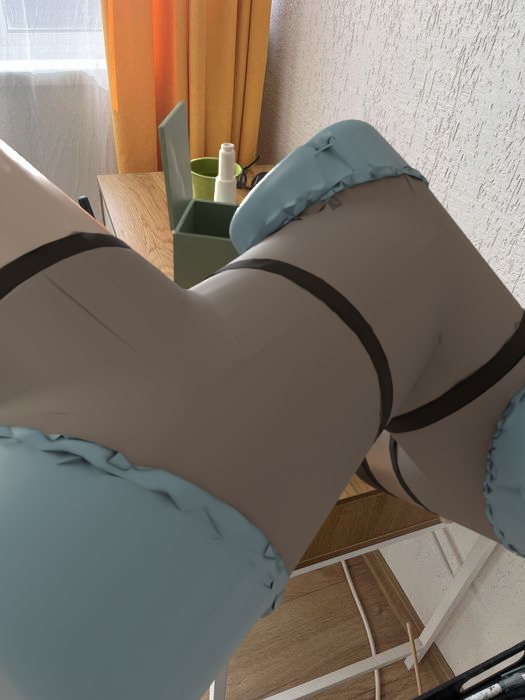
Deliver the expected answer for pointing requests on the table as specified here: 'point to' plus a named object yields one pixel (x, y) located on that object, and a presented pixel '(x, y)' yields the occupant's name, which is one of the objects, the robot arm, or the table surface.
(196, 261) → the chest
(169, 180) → the lid
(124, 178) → the table surface
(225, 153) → the cosmetic bottle
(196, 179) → the plant pot
